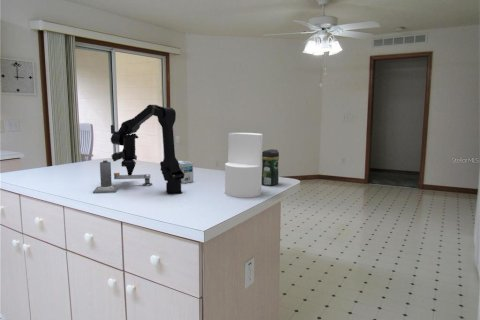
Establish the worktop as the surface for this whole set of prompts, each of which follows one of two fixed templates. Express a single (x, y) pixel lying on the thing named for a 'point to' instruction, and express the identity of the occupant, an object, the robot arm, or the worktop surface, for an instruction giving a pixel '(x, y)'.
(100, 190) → the socket
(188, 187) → the worktop surface
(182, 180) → the light bulb box
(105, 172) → the plug
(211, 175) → the worktop surface
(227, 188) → the cylinder
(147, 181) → the grey flanged disc
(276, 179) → the coffee jar
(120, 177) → the bar
